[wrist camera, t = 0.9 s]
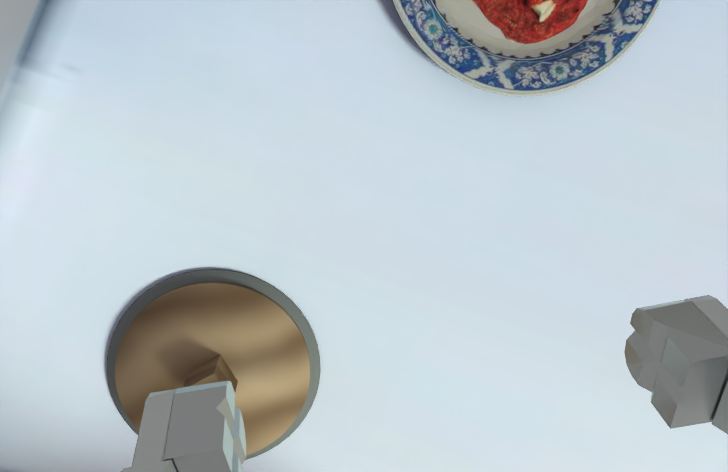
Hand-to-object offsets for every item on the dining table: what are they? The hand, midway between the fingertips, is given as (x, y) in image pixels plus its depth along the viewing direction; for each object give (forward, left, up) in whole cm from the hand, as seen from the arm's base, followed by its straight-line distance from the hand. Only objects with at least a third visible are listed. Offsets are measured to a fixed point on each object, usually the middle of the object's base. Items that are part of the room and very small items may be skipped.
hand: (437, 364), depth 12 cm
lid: (-12, +19, -42) cm, 48 cm away
